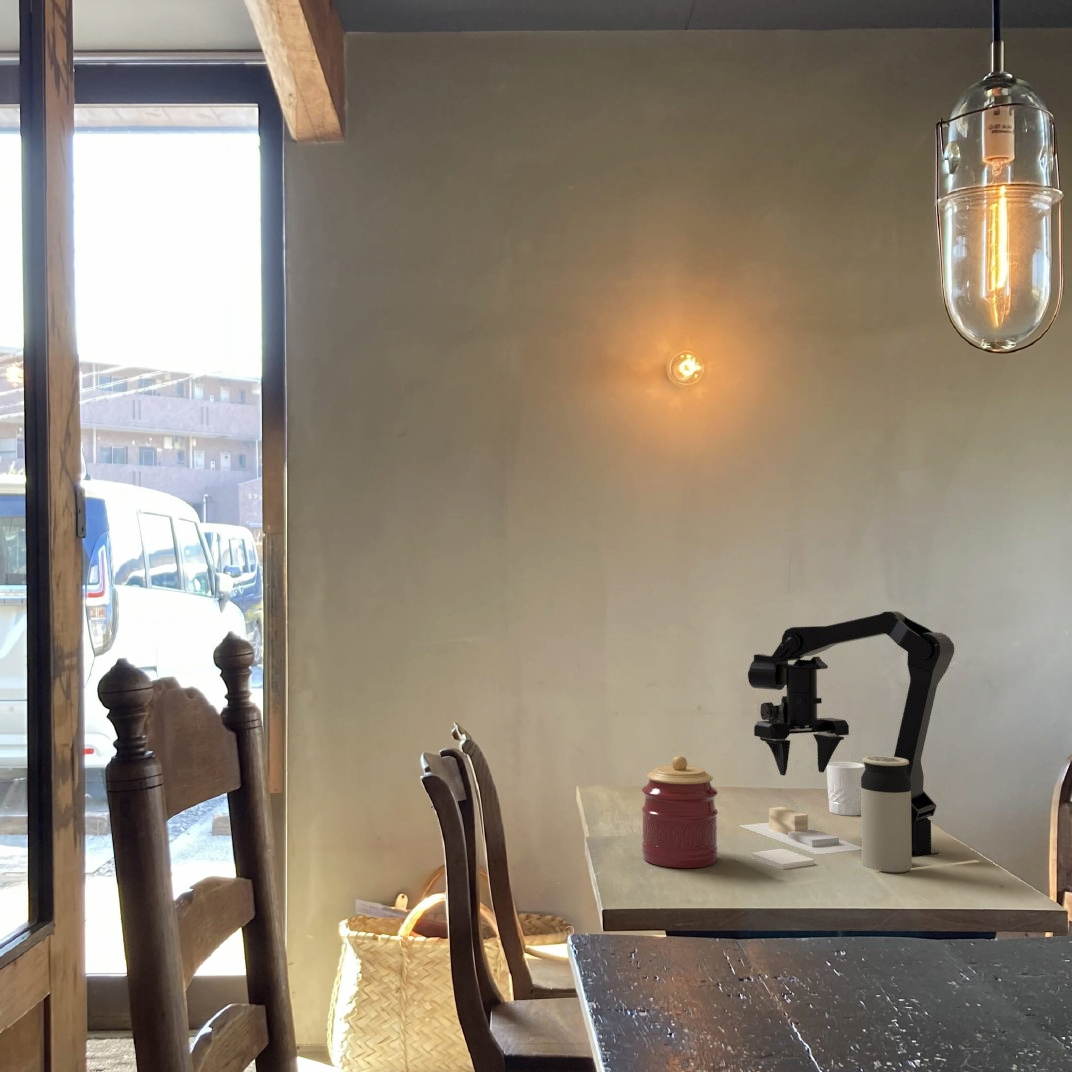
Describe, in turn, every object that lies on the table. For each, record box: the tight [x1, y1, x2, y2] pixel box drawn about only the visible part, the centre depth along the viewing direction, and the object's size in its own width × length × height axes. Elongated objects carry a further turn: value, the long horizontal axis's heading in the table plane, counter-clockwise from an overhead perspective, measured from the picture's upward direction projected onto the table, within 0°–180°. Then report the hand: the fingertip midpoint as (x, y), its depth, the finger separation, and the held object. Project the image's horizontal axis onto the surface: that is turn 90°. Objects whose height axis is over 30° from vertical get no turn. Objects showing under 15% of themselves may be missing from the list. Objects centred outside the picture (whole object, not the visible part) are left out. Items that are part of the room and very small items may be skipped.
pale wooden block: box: [768, 806, 840, 847], centre depth 193 cm, size 15×6×4 cm, turn 23°
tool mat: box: [738, 822, 862, 856], centre depth 193 cm, size 24×11×1 cm, turn 23°
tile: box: [750, 848, 815, 870], centre depth 175 cm, size 2×7×8 cm
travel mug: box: [860, 755, 913, 874], centre depth 173 cm, size 8×8×18 cm
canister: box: [641, 755, 719, 869], centre depth 177 cm, size 13×13×18 cm
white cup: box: [826, 761, 865, 817], centre depth 217 cm, size 8×8×10 cm
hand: (802, 773), depth 198 cm, fingers open, 9 cm apart
